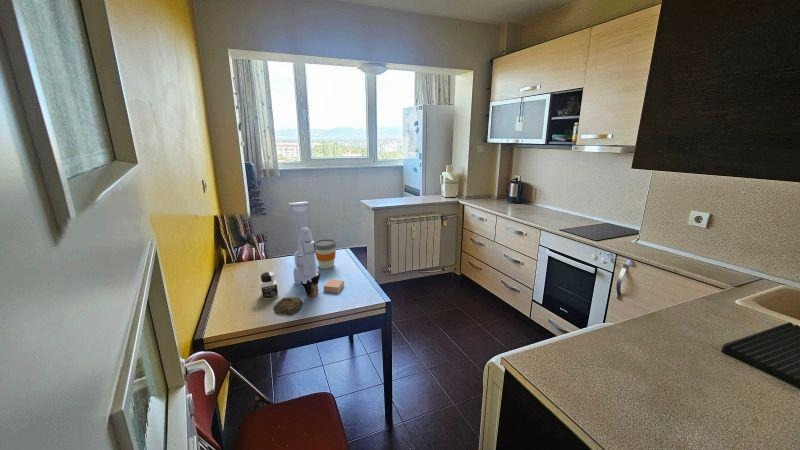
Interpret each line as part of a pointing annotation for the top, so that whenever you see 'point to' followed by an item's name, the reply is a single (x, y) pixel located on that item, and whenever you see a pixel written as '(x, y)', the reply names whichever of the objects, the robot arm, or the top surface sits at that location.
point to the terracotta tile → (333, 286)
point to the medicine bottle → (268, 286)
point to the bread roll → (288, 305)
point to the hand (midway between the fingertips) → (312, 290)
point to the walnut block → (313, 291)
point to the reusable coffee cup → (325, 253)
